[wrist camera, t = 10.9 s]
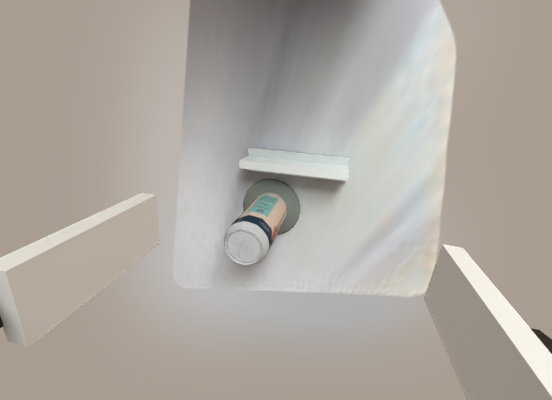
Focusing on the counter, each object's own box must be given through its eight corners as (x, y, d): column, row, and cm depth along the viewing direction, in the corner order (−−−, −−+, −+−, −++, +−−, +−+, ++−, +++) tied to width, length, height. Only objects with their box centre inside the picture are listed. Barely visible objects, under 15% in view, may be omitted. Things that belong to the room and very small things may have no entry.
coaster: (245, 176, 38) (244, 177, 38) (302, 183, 37) (302, 184, 36) (243, 229, 41) (242, 230, 40) (297, 237, 39) (296, 238, 39)
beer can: (262, 228, 40) (232, 274, 28) (248, 197, 39) (212, 233, 28) (293, 218, 38) (274, 262, 27) (279, 186, 37) (254, 219, 26)
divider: (249, 147, 37) (239, 151, 33) (349, 157, 35) (350, 163, 31) (248, 169, 38) (239, 176, 34) (345, 180, 36) (346, 189, 32)
